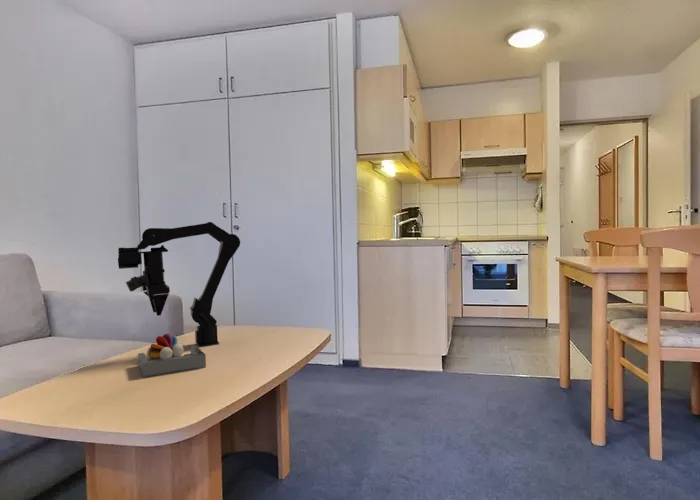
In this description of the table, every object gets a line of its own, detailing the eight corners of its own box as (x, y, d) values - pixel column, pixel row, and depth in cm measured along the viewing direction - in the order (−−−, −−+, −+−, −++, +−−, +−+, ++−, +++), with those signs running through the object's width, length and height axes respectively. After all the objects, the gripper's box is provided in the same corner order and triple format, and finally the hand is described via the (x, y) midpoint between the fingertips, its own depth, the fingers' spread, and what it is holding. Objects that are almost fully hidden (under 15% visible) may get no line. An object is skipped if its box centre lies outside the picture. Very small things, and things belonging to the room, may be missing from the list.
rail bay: (196, 356, 139) (195, 345, 139) (205, 367, 127) (205, 354, 127) (138, 365, 131) (137, 353, 131) (143, 377, 119) (142, 363, 119)
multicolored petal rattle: (142, 360, 137) (141, 336, 137) (168, 352, 146) (167, 330, 146) (162, 363, 133) (161, 338, 133) (188, 355, 142) (187, 332, 142)
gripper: (124, 267, 154) (127, 313, 154) (129, 269, 138) (132, 321, 138) (159, 265, 159) (162, 309, 160) (168, 266, 143) (171, 316, 144)
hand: (157, 313), depth 150 cm, fingers open, 9 cm apart
